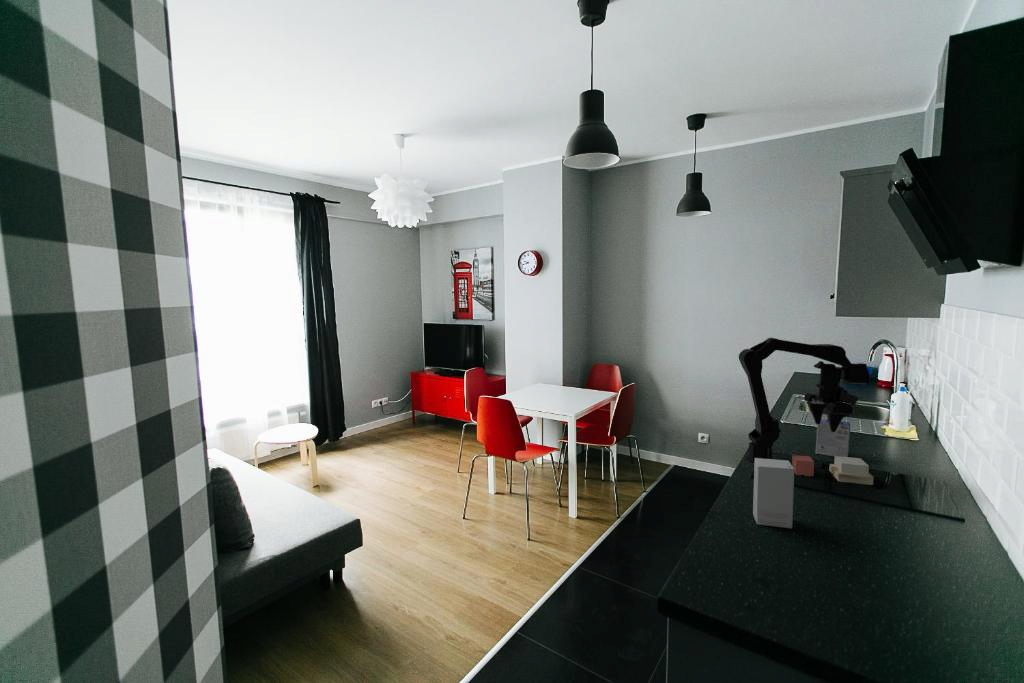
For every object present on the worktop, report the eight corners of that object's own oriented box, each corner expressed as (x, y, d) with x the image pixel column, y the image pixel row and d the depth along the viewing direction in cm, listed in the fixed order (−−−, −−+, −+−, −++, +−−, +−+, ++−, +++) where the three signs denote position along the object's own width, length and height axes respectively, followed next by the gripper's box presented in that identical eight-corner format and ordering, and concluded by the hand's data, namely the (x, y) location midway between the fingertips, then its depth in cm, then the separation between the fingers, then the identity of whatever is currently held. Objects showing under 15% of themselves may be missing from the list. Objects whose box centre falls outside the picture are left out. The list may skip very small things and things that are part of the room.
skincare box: (787, 518, 122) (790, 460, 120) (793, 530, 116) (796, 469, 114) (751, 513, 124) (754, 456, 123) (755, 525, 118) (758, 465, 117)
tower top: (868, 475, 144) (868, 465, 144) (841, 472, 146) (841, 463, 146) (859, 467, 150) (860, 458, 150) (834, 464, 153) (834, 455, 152)
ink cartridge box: (848, 454, 170) (851, 415, 168) (848, 459, 165) (851, 419, 164) (815, 449, 175) (818, 411, 174) (815, 454, 171) (817, 415, 169)
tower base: (872, 486, 143) (873, 477, 143) (838, 482, 146) (838, 473, 145) (861, 475, 151) (862, 466, 151) (829, 472, 154) (829, 463, 154)
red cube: (813, 476, 149) (814, 461, 149) (795, 475, 151) (796, 460, 151) (808, 471, 154) (809, 456, 154) (791, 469, 156) (792, 455, 155)
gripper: (874, 389, 146) (868, 437, 148) (839, 378, 165) (834, 421, 166) (836, 387, 148) (831, 435, 149) (805, 376, 166) (801, 420, 168)
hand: (825, 427), depth 158 cm, fingers open, 9 cm apart
